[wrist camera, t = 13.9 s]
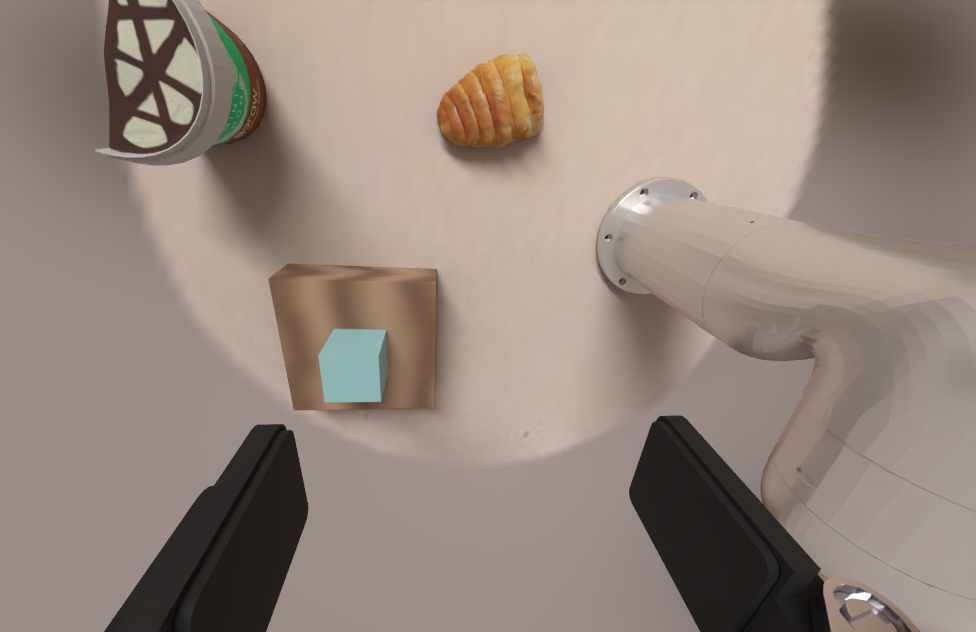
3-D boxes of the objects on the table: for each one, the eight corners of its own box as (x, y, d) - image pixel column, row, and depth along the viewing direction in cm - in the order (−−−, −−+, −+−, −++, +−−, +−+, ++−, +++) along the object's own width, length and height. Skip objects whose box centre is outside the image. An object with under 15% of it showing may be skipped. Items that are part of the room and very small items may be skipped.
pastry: (451, 164, 34) (452, 165, 31) (425, 84, 31) (423, 76, 28) (544, 132, 34) (555, 130, 31) (527, 49, 31) (537, 36, 28)
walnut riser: (436, 269, 38) (436, 283, 34) (435, 384, 45) (434, 407, 41) (287, 264, 36) (268, 278, 32) (308, 385, 43) (294, 410, 39)
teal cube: (386, 329, 36) (378, 356, 31) (388, 371, 38) (381, 401, 33) (334, 328, 35) (318, 355, 31) (338, 371, 37) (324, 402, 33)
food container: (269, 183, 33) (204, 197, 24) (193, 156, 31) (94, 159, 22) (293, 31, 29) (225, -22, 20) (206, -10, 27) (89, -88, 18)
